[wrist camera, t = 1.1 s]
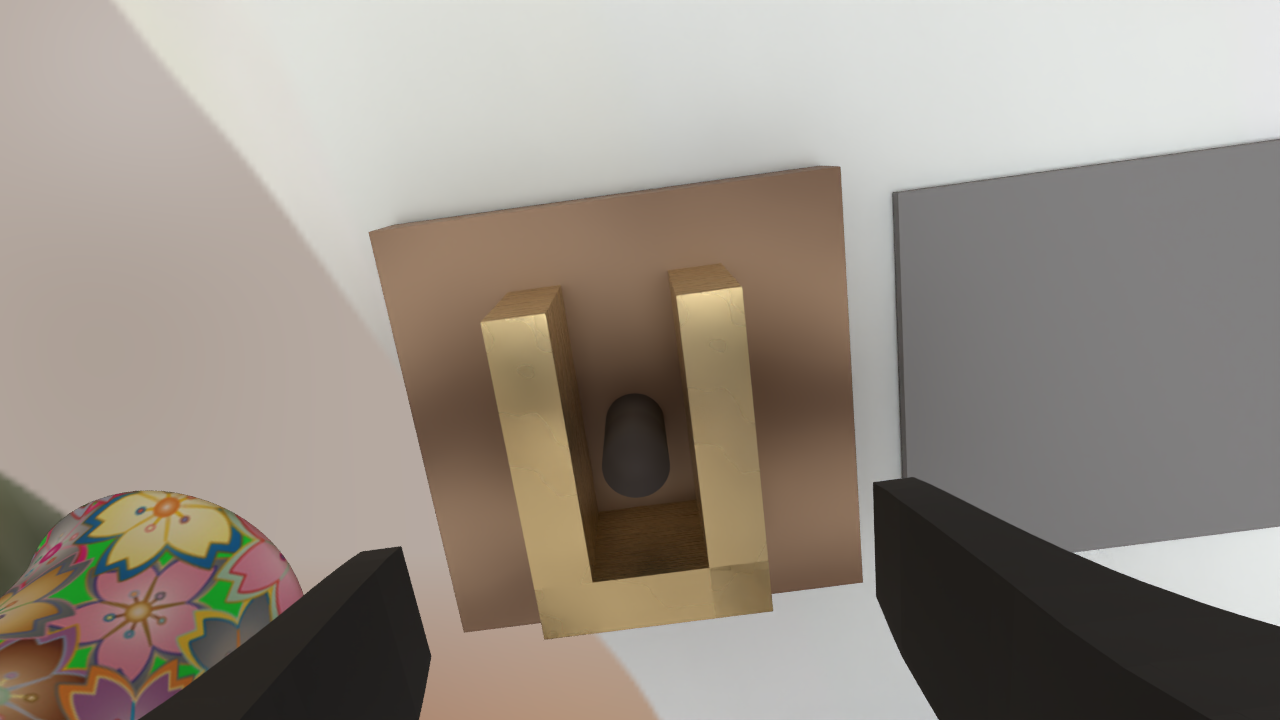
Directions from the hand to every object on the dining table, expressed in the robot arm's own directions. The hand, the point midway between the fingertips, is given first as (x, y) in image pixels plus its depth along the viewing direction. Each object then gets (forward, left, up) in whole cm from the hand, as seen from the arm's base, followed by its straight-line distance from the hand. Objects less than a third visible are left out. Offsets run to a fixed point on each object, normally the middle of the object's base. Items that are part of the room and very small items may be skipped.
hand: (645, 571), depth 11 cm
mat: (-2, -14, -11) cm, 18 cm away
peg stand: (-1, 0, -11) cm, 11 cm away
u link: (-1, 0, -9) cm, 9 cm away
